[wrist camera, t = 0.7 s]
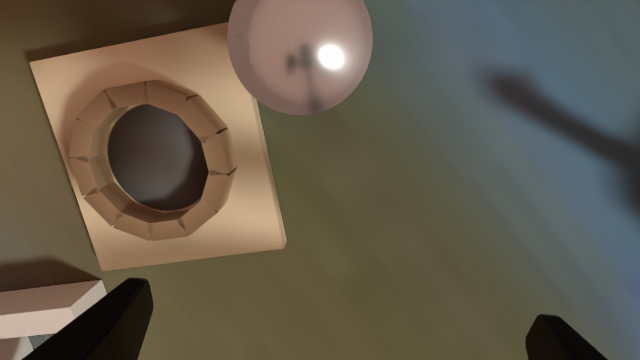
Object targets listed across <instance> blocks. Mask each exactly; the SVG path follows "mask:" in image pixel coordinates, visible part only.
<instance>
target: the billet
mask: <svg viewBox="0 0 640 360" xmlns="http://www.w3.org/2000/svg"><path fill="white" fill-rule="evenodd" d="M372 41H373V36H372V26H371V21H370V17H369V14H368V11H367V8H366V6H365V4H364V2H363V0H236V2H235V4H234V6H233V8H232V11H231V14H230V18H229V23H228V31H227V44H228V51H229V56H230V60H231V63H232V66H233V69H234V71H235V73H236V75H237V77H238V79H239V80H240V82H241V83H242V85H243V86H244V87H245V89H246V90H247V91H248V92H249V93H250V94H251V95H252V96H253V97H254V98H255V99H257V100H258V101H259V102H261V103H262V104H264V105H265V106H267V107H269V108H271V109H273V110H276V111H278V112H282V113H285V114H291V115H310V114H316V113H320V112H323V111H325V110H328V109H330V108H332V107H334V106H336V105H338V104H339V103H340V102H342V101H343V100H345V99H346V98H347V97H348V96H349V95H350V94H351V93H352V92H353V91H354V89H355V88H356V87H357V86H358V84H359V83H360V81H361V80H362V78H363V76H364V74H365V72H366V70H367V67H368V64H369V61H370V57H371V52H372Z"/></svg>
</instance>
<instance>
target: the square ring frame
mask: <svg viewBox="0 0 640 360" xmlns="http://www.w3.org/2000/svg"><path fill="white" fill-rule="evenodd" d="M105 295H107V293H106V290H105V287H104V285H103V282H102V280H95V281H87V282H79V283H71V284H63V285H55V286H47V287H39V288H30V289H22V290H14V291H6V292H0V360H21V359H23V358H24V357H25V356H27V355H28V354H29V353H31V352H32V351H33V347H32V345H31V343H30V340H29V338H28V336H33V335H43V334H52V333H57V332H58V331H59V330H61V329H62V328H63V327H65V326H66V325H67V324H69V323H70V322H71V321H72V320H74V319H75V318H76V317H78V316H79V315H80V314H82V313H83V312H84V311H86V310H87V309H88V308H90V307H91V306H92V305H93V304H95V303H96V302H97V301H99V300H100V299H101V298H103V297H104V296H105Z"/></svg>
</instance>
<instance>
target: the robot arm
mask: <svg viewBox="0 0 640 360" xmlns="http://www.w3.org/2000/svg"><path fill="white" fill-rule="evenodd" d="M152 311H153V299H152V294H151V289H150V284H149V281H148V280H147V279H143V278H128V279H126V280H125V281H124V282H122V283H121V284H120V285H118V286H117V287H116V288H114V289H113V290H112V291H111V292H109V293H108V294H107V295H105V296H104V297H103V298H101V299H100V300H99V301H97V302H96V303H95V304H93V305H92V306H91V307H90V308H88V309H87V310H86V311H84V312H83V313H82V314H80V315H79V316H78V317H76V318H75V319H74V320H72V321H71V322H70V323H69V324H67V325H66V326H65V327H63V328H62V329H61V330H59V331H58V332H57V333H55V334H54V335H53V336H52V337H50V338H49V339H48V340H46V341H45V342H44V343H42V344H41V345H40V346H38V347H37V348H36V349H34V350H33V351H32V352H31V353H29V354H28V355H27V356H25V357H24V358H23V359H21V360H137V359H138V356H139V353H140V350H141V347H142V343H143V340H144V337H145V334H146V331H147V328H148V325H149V321H150V318H151V315H152ZM525 343H526V350H527V354H528V359H529V360H608V359H606V358H605V357H604V356H603V355H602V354H601V353H600V352H599V351H597V350H596V349H595V348H594V347H593V346H592V345H591V344H590V343H589V342H587V341H586V340H585V339H584V338H583V337H582V336H581V335H580V334H578V333H577V332H576V331H575V330H574V329H573V328H572V327H571V326H570V325H568V324H567V323H566V322H565V321H564V320H563V319H562V318H560V317H559V316H556V315H547V314H540V315H538V316H537V317H536V319H535V321H534V323H533V325H532V326H531V328H530V330H529V332H528V334H527V336H526V342H525Z"/></svg>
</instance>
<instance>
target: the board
mask: <svg viewBox="0 0 640 360" xmlns="http://www.w3.org/2000/svg"><path fill="white" fill-rule="evenodd" d="M228 23H229V22H226V23H221V24H216V25H211V26H206V27H201V28H196V29H191V30H186V31H181V32H176V33H171V34H166V35H161V36H156V37H151V38H147V39H142V40H137V41H132V42H127V43H122V44H117V45H112V46H107V47H102V48H97V49H92V50H87V51H82V52H77V53H72V54H67V55H63V56H58V57H53V58H48V59H43V60H38V61H33V62H29V63H30V66H31V69H32V72H33V75H34V77H35V80H36V83H37V86H38V89H39V92H40V95H41V97H42V100H43V103H44V106H45V109H46V112H47V115H48V118H49V120H50V123H51V126H52V129H53V132H54V135H55V138H56V141H57V143H58V146H59V149H60V152H61V155H62V158H63V161H64V163H65V166H66V169H67V172H68V175H69V178H70V181H71V184H72V186H73V189H74V192H75V195H76V198H77V201H78V204H79V206H80V209H81V212H82V215H83V218H84V221H85V224H86V227H87V229H88V232H89V235H90V238H91V241H92V244H93V247H94V249H95V252H96V255H97V258H98V261H99V264H100V267H101V270H102V271H108V270H116V269H124V268H132V267H140V266H148V265H156V264H163V263H171V262H179V261H187V260H195V259H203V258H211V257H219V256H226V255H234V254H242V253H250V252H258V251H266V250H274V249H282V248H284V246H285V244H286V241H287V240H286V235H285V230H284V226H283V221H282V216H281V212H280V207H279V202H278V198H277V193H276V188H275V184H274V179H273V174H272V170H271V165H270V160H269V156H268V151H267V146H266V142H265V137H264V132H263V128H262V123H261V118H260V114H259V109H258V104H257V99H255V98H254V97H253V96H252V95H251V94H250V93H249V92H248V91H247V90H246V89H245V87H244V86H243V85H242V83H241V82H240V80H239V79H238V77H237V75H236V73H235V71H234V69H233V66H232V63H231V60H230V56H229V51H228V44H227V31H228Z"/></svg>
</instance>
